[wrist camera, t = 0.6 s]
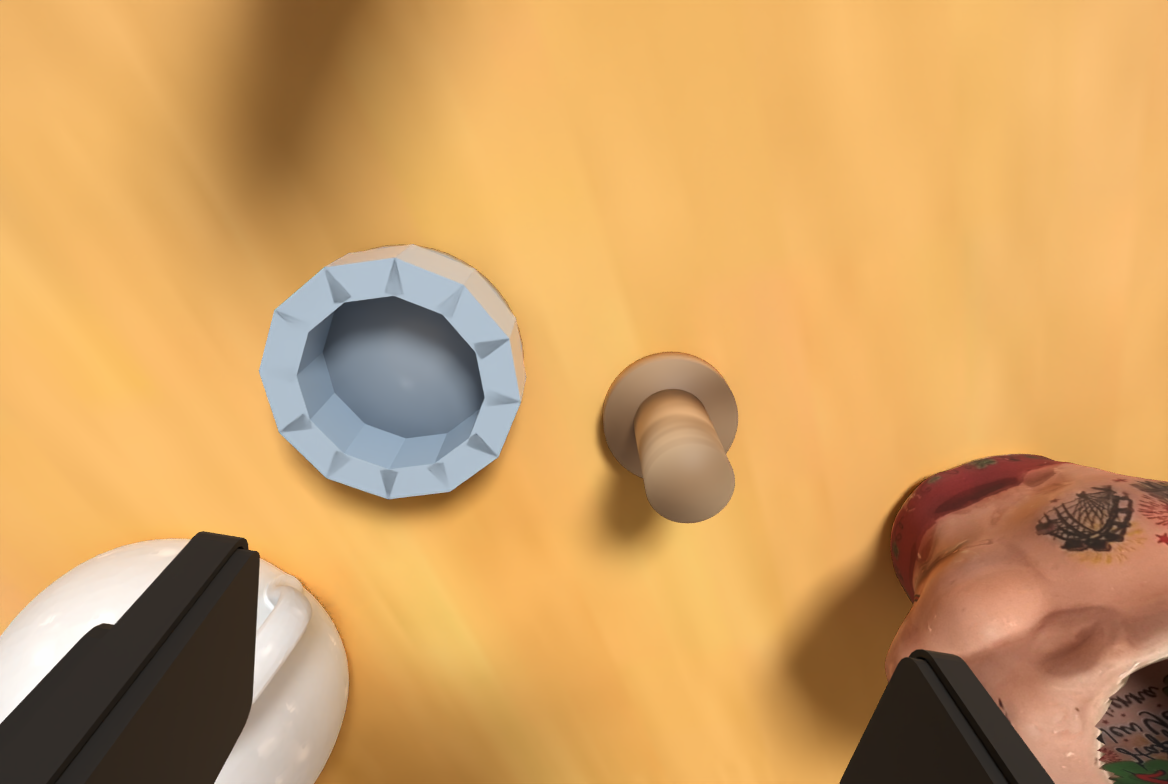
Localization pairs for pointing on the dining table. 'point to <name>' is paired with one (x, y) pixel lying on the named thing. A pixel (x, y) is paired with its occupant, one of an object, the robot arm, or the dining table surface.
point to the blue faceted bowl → (395, 371)
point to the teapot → (281, 672)
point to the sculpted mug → (1048, 605)
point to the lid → (674, 433)
